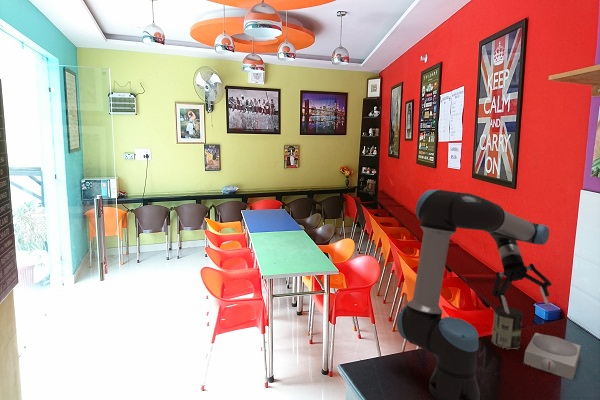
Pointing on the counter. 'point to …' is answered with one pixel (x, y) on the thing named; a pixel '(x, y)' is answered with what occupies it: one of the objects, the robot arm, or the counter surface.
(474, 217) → the robot arm
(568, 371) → the kitchen scale
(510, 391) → the counter surface
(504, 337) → the coffee can
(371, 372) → the counter surface
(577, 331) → the counter surface
